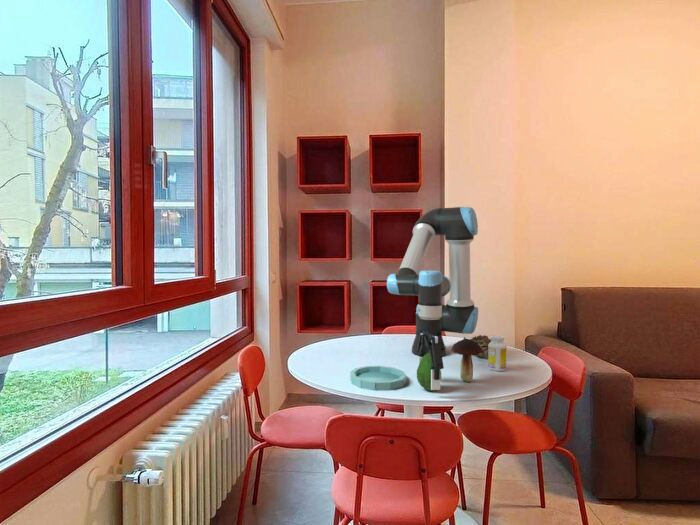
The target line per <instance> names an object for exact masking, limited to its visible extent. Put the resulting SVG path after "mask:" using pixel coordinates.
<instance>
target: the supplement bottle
mask: <svg viewBox="0 0 700 525" xmlns="http://www.w3.org/2000/svg"><path fill="white" fill-rule="evenodd" d="M490 339H491V341H492V342H490V343H489V344H488V357H487V368H488V369H489V370H490V371H494V372H505V371H507V348H508V347H507V344H506V343H504V340H505V336H503V335H491V336H490Z"/></svg>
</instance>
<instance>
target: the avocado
mask: <svg viewBox="0 0 700 525" xmlns="http://www.w3.org/2000/svg"><path fill="white" fill-rule="evenodd" d="M418 363H419V362H418ZM437 365H438V364H437ZM431 367H432V363H431V358H430V353H428V354H426V355H424V356H423V358H422V359H421V361H420V363H419V366H417V369H416V379H417V382H418V384H419V385H420V386H421V387H422V388H424V390H426V391H432V390H431V369H430V368H431ZM441 380H442V369H441V370H440V382H441Z"/></svg>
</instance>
